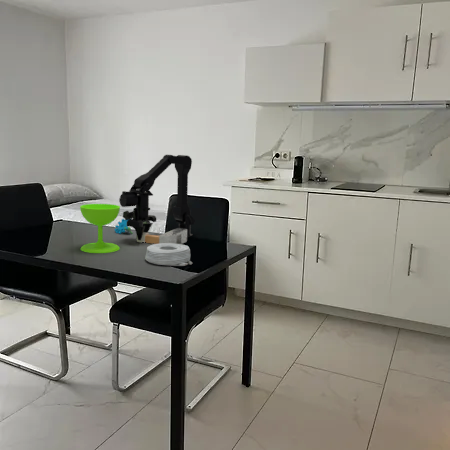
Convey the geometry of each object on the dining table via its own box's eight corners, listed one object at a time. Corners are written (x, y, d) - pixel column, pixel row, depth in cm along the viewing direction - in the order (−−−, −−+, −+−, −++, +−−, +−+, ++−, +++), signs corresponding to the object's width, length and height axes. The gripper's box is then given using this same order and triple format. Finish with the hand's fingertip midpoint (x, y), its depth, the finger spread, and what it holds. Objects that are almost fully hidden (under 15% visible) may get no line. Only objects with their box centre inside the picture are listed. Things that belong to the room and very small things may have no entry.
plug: (140, 240, 210) (140, 231, 210) (166, 243, 207) (166, 234, 206) (136, 241, 207) (136, 233, 206) (162, 244, 203) (163, 236, 203)
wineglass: (93, 255, 180) (93, 210, 177) (73, 247, 190) (72, 205, 187) (127, 249, 191) (127, 207, 188) (106, 242, 202) (106, 203, 199)
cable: (194, 266, 170) (194, 251, 169) (147, 268, 166) (147, 252, 165) (185, 255, 187) (186, 241, 186) (143, 256, 182) (143, 241, 181)
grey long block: (177, 240, 214) (177, 228, 213) (186, 241, 213) (187, 229, 212) (159, 248, 195) (159, 235, 194) (169, 250, 194) (170, 236, 193)
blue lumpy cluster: (110, 228, 227) (124, 214, 229) (117, 235, 231) (131, 221, 233) (120, 235, 219) (134, 220, 221) (127, 242, 223) (141, 228, 225)
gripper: (135, 202, 216) (135, 234, 219) (115, 206, 199) (115, 241, 201) (157, 204, 213) (156, 236, 216) (138, 208, 196) (138, 243, 198)
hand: (141, 239), depth 208 cm, fingers closed on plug, 4 cm apart
